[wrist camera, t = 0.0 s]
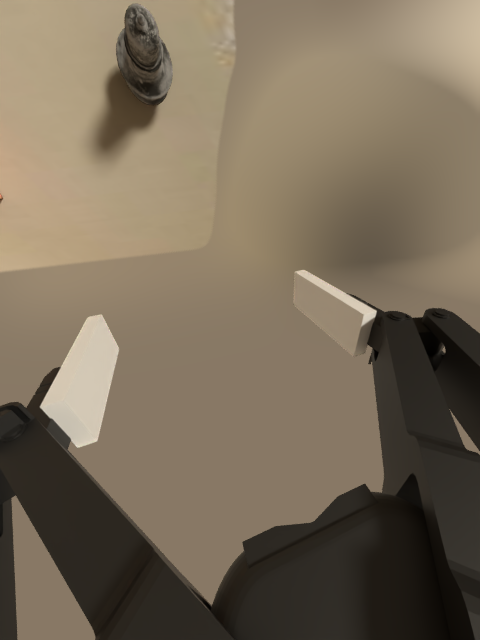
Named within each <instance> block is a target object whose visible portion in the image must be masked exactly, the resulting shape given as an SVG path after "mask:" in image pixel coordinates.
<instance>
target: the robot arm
mask: <svg viewBox="0 0 480 640" xmlns="http://www.w3.org/2000/svg"><path fill="white" fill-rule="evenodd" d="M294 280H295V281H294V306H296V307H297V308H298V309H299V310H300V311H301V312H303V314H305V315H306V316H307V317H308V318H309V319H310V320H312V321H313V322H314V323H315V324H316V325H317V326H318V327H320V328H321V329H322V330H323V331H324V332H325V333H327V334H328V335H329V336H330V337H331V338H332V339H333V340H335V341H336V342H337V343H338V344H339V345H340V346H342V347H343V348H344V349H345V350H346V351H347V352H349V353H350V354H351V355H352V356H353V357H355V356H358V355H361V354H364V353H365V352H366V348H367V344H368V345H369V346H370V347H372V348H373V349H372V353H371V356H370V360H369V363H368V364H371V362H372V365H373V374H374V384H375V391H376V392H375V393H376V402H377V411H378V421H379V430H380V438H381V448H382V458H383V467H384V482H383V489H382V490H383V491H382V493H379V492H370V490H369V489H368V487H367V486H366V484H363V485H361V486H359V487H357V488H355V489H352V490H350V491H348V492H346V493H344V494H342V495H340V496H338V497H337V498H336V499H335V500H334V501H333V502H332V503H331V504H330V505H329V507H327V508H326V509H325V511H324V512H323V513H322V514H321V515H320V516H319V517H318V518H317V519H316V520H315V521H314V522H311V523H304V524H294V525H284V526H275V527H273V528H271V529H269V530H267V531H264V532H263V533H261V534H258V535H256V536H254V537H252V538H250V539H248V540H246V541H243V547H244V551H243V553H241V555H240V556H238V558H237V559H236V560H235V561H234V562H233V564H232V565H231V566H230V568H229V570H228V571H227V573H226V575H225V576H224V578H223V580H222V582H221V584H220V586H219V588H218V591H217V593H216V596H215V599H214V602H213V604H212V606H211V605H210V603H209V602H207V600H206V599H205V598H204V597H203V596H202V595H201V594H200V593H199V592H198V590H197V589H196V588H194V586H193V585H192V584H191V583H190V582H189V581H188V580H187V579H186V578H185V577H184V576H183V575H182V574H181V573H180V572H179V571H178V570H177V568H176V567H175V566H174V565H173V564H172V563H171V562H170V561H169V560H168V559H167V558H166V557H165V555H164V554H163V553H162V552H161V551H160V550H159V549H158V548H157V547H156V545H155V544H154V543H153V542H152V541H151V540H150V539H149V538H148V537H147V536H146V535H145V533H143V531H142V530H141V529H140V528H139V527H138V526H137V525H136V524H135V523H134V522H133V520H132V519H131V518H130V517H129V516H128V515H127V514H126V513H125V512H124V511H123V510H122V509H121V507H120V506H119V505H118V504H117V503H116V502H115V501H114V500H113V499H112V498H111V497H110V495H109V494H108V493H107V492H106V491H105V490H104V489H103V488H102V487H101V486H100V485H99V483H98V482H97V481H96V480H95V479H94V478H93V477H92V476H91V475H90V474H89V473H88V472H87V470H86V469H85V468H84V467H83V466H82V465H81V464H80V463H79V462H78V461H77V460H76V458H75V457H74V456H73V455H72V454H71V453H70V452H69V451H68V450H67V449H68V447H69V444H70V441H72V442H73V443H74V444H75V445H76V446H77V447H81V446H84V445H87V444H90V443H93V442H97V440H98V436H99V432H100V428H101V424H102V419H103V415H104V411H105V406H106V402H107V398H108V394H109V390H110V386H111V381H112V377H113V373H114V369H115V364H116V360H117V356H118V352H119V348H118V346H117V344H116V342H115V340H114V338H113V336H112V334H111V332H110V330H109V328H108V326H107V324H106V322H105V320H104V318H103V316H102V315H101V314H100V315H96V316H91V317H88V318H87V320H86V322H85V323H84V325H83V328H82V329H81V331H80V333H79V335H78V337H77V338H76V340H75V342H74V344H73V346H72V348H71V349H70V351H69V353H68V355H67V357H66V359H65V361H64V363H63V364H62V366H61V367H58V368H54V369H53V370H52V371H51V372H50V373H49V374H47V376H45V377H44V379H43V381H42V383H41V384H40V387H39V388H38V389H37V391H36V393H35V395H34V396H33V398H32V399H31V401H30V403H29V404H28V406H27V408H25V407H24V406H23V405H22V404H21V403H19V402H11V403H8V404H5V405H2V406H0V640H17V620H16V597H15V573H14V552H13V551H14V550H13V527H12V504H11V498H12V497H14V496H15V495H16V496H17V498H18V500H19V501H20V503H21V505H22V507H23V508H24V510H25V512H26V514H27V515H28V517H29V518H30V521H31V522H32V524H33V526H34V527H35V529H36V531H37V532H38V534H39V536H40V538H41V539H42V541H43V543H44V545H45V546H46V548H47V550H48V552H49V553H50V555H51V557H52V558H53V560H54V562H55V564H56V565H57V567H58V569H59V571H60V572H61V574H62V576H63V578H64V579H65V581H66V583H67V585H68V586H69V588H70V590H71V592H72V593H73V595H74V596H75V598H76V600H77V602H78V604H79V605H80V607H81V609H82V611H83V612H84V614H85V616H86V617H87V619H88V621H89V623H90V624H91V626H92V628H93V630H94V633H95V636H96V639H95V640H480V455H479V454H478V453H476V452H472V451H469V450H467V449H466V448H465V447H464V445H463V442H462V440H461V437H460V435H459V432H458V430H457V427H456V425H455V422H454V420H453V417H452V415H451V412H452V413H453V415H454V416H455V417H456V419H457V420H458V421H459V423H460V424H461V426H462V427H463V429H464V430H465V431H466V433H467V434H468V435H469V437H470V438H471V440H472V441H473V442H474V444H475V445H476V446H477V448H478V449H479V451H480V333H478V332H477V331H476V330H475V329H473V328H472V327H471V326H470V325H468V324H467V323H466V322H465V321H463V320H462V319H461V318H460V317H458V316H457V315H456V314H454V313H453V312H450V311H447V310H445V309H441V308H438V309H437V308H432V309H428V310H426V311H425V313H424V316H423V317H420V318H412V317H411V316H409V315H407V314H405V313H402V312H398V311H388V312H384V311H382V310H380V309H378V308H376V307H375V306H373V305H371V304H369V303H367V302H365V301H363V300H361V299H360V298H358V297H356V296H354V295H351V294H348V293H344V292H342V291H341V290H339V289H337V288H335V287H333V286H332V285H330V284H328V283H326V282H325V281H323V280H321V279H319V278H317V277H316V276H314V275H312V274H310V273H309V272H307V271H305V270H302V271H297V272H295V279H294ZM444 346H445V349H446V353H444V352H443V351H442V349H443V348H444ZM449 409H450V410H451V412H450V410H449Z"/></svg>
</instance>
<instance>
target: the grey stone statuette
mask: <svg viewBox="0 0 480 640" xmlns="http://www.w3.org/2000/svg"><path fill="white" fill-rule="evenodd" d="M116 55H117V61H118V65H119V68H120V71H121V73H122V76H123V77H124V79H125V81H126V82H127V84H128V86H129V88H130V90H131V91H132V93H133V94H134V95H135V96H136V97H137V98H138V99H139V100H140V101H142V102H143V103H146V104H148V105H156V104H159V103H161V102H162V101H163V100H164V99H165V97H166V95H167V92H168V90H169V89H170V86H171V83H172V75H173V70H172V62H171V59H170V55H169V52H168V50H167V48H166V46H165V44H164V43H163V41H162V40H161V38H160V37H159V31H158V27H157V24H156V22H155V20H154V17H153V16H152V14H151V13H150V11H149V10H148V9H147V8H146V7H144V6H142V5H141V4H137V3H135V4H132V5H130V6H129V7H128V9H127V10H126V14H125V28H124V29H123V30H122V31H121V33H120V35H119V37H118V41H117V44H116Z"/></svg>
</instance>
